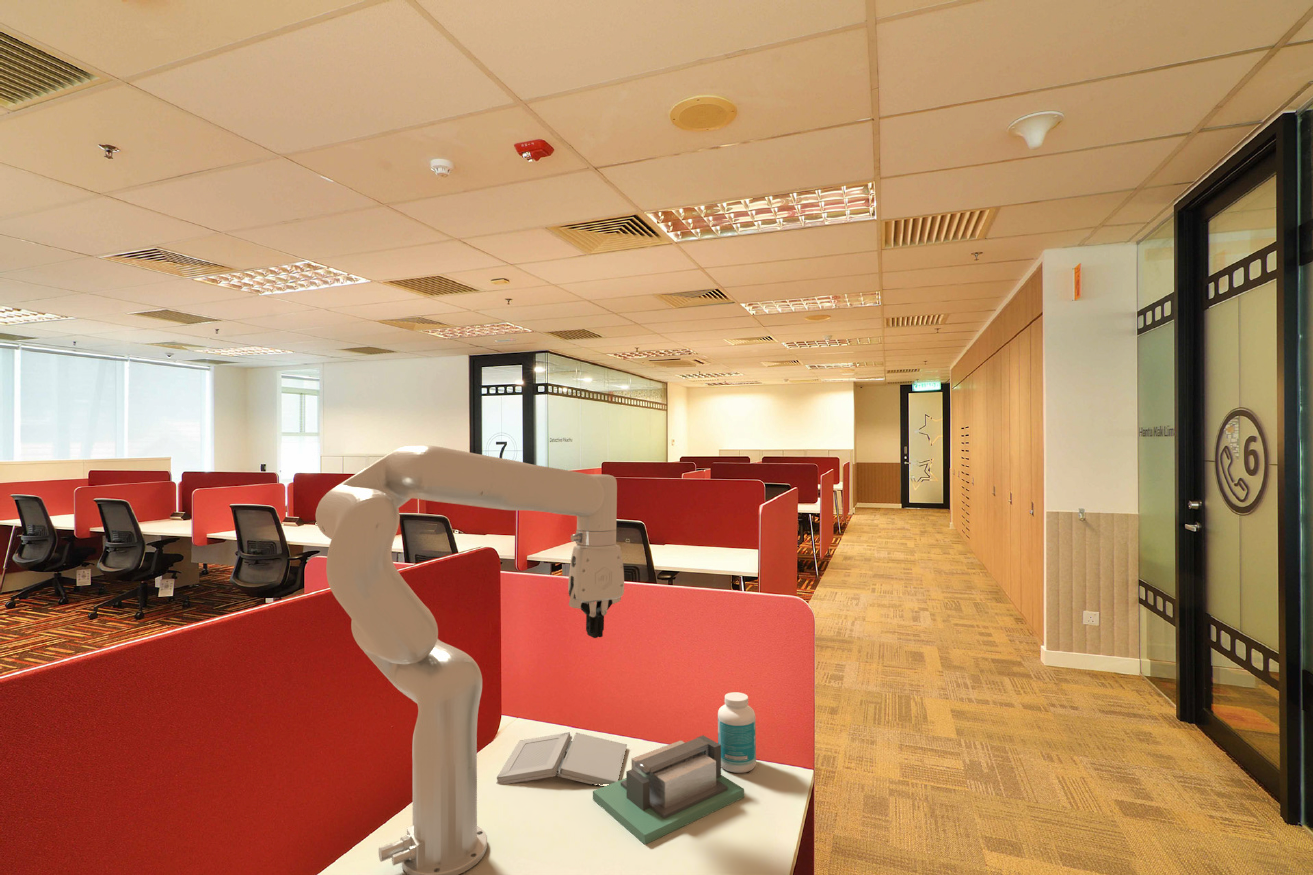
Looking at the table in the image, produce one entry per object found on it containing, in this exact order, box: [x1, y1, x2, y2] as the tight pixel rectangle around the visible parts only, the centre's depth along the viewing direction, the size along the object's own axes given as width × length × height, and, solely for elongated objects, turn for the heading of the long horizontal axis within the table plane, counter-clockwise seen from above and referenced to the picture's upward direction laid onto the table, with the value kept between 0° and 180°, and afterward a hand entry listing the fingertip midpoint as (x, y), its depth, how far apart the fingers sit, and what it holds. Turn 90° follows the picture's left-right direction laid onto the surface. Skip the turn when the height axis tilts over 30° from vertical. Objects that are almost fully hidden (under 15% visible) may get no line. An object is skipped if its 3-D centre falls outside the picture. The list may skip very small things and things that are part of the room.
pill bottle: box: [717, 691, 757, 774], centre depth 123 cm, size 8×7×14 cm
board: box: [592, 734, 745, 845], centre depth 111 cm, size 22×16×7 cm
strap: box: [635, 737, 709, 775], centre depth 112 cm, size 15×3×3 cm, turn 127°
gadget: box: [496, 731, 628, 785], centre depth 124 cm, size 23×15×4 cm, turn 86°
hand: (594, 635), depth 118 cm, fingers closed
